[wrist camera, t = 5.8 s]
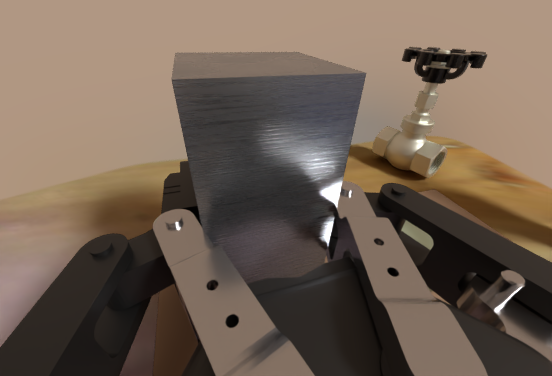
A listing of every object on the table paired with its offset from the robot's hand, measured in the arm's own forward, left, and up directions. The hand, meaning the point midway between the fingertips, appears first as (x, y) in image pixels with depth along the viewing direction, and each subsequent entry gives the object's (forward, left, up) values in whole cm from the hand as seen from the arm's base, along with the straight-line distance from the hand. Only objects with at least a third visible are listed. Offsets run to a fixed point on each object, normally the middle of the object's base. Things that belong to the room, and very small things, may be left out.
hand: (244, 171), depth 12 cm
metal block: (0, -3, -7) cm, 7 cm away
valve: (+20, +8, -8) cm, 23 cm away
